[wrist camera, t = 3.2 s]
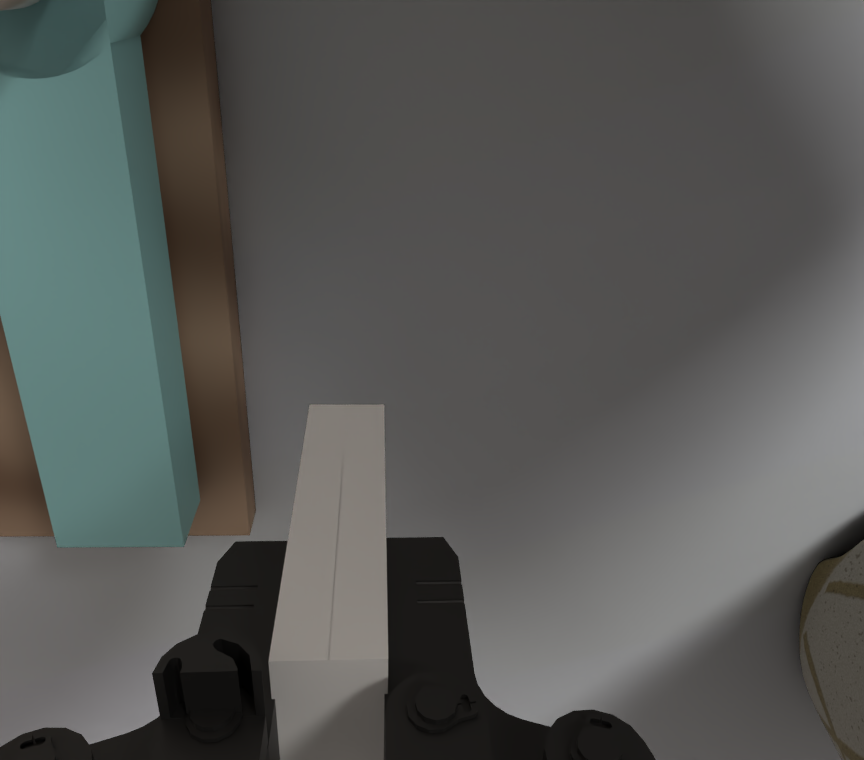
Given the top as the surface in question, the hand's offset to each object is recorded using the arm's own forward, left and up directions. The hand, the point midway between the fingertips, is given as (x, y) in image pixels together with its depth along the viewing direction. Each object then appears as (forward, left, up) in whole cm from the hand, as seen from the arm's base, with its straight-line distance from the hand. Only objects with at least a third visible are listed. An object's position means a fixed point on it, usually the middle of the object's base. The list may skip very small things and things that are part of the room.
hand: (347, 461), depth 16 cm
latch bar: (-2, -8, -9) cm, 12 cm away
